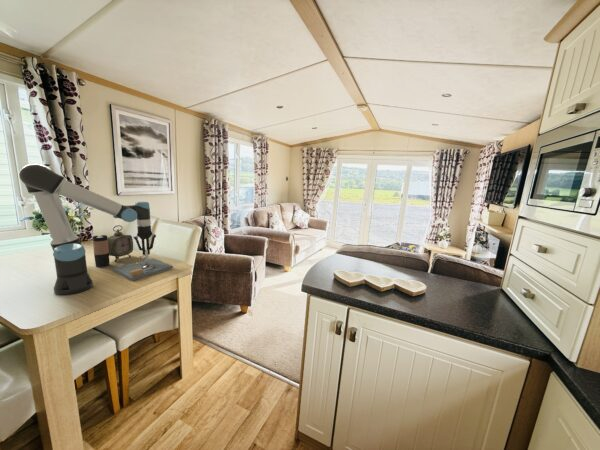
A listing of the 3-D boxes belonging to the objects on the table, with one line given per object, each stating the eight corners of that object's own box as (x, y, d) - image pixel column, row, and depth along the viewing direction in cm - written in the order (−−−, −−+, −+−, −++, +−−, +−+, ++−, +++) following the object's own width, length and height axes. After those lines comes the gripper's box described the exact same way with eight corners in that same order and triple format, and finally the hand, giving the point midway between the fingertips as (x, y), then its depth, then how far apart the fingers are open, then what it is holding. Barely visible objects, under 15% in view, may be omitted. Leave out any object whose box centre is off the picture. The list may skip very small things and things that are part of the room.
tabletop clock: (115, 263, 164) (112, 227, 159) (105, 261, 165) (101, 226, 161) (134, 256, 178) (131, 224, 173) (124, 255, 179) (121, 223, 174)
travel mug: (103, 267, 155) (100, 238, 151) (92, 267, 155) (88, 237, 151) (113, 263, 162) (110, 235, 159) (102, 263, 163) (99, 234, 159)
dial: (154, 267, 154) (154, 260, 153) (143, 270, 150) (143, 262, 149) (146, 261, 163) (146, 254, 162) (136, 263, 159) (135, 256, 158)
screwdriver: (131, 276, 141) (131, 272, 140) (129, 275, 142) (129, 271, 141) (153, 270, 151) (153, 266, 150) (151, 269, 152) (151, 265, 152)
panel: (131, 280, 139) (131, 277, 139) (113, 270, 151) (112, 267, 151) (173, 268, 160) (172, 265, 160) (153, 260, 172) (153, 257, 172)
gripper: (154, 223, 163) (156, 256, 167) (131, 225, 154) (134, 259, 159) (156, 225, 157) (158, 259, 162) (133, 227, 149) (135, 262, 153)
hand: (146, 259), depth 160 cm, fingers closed
